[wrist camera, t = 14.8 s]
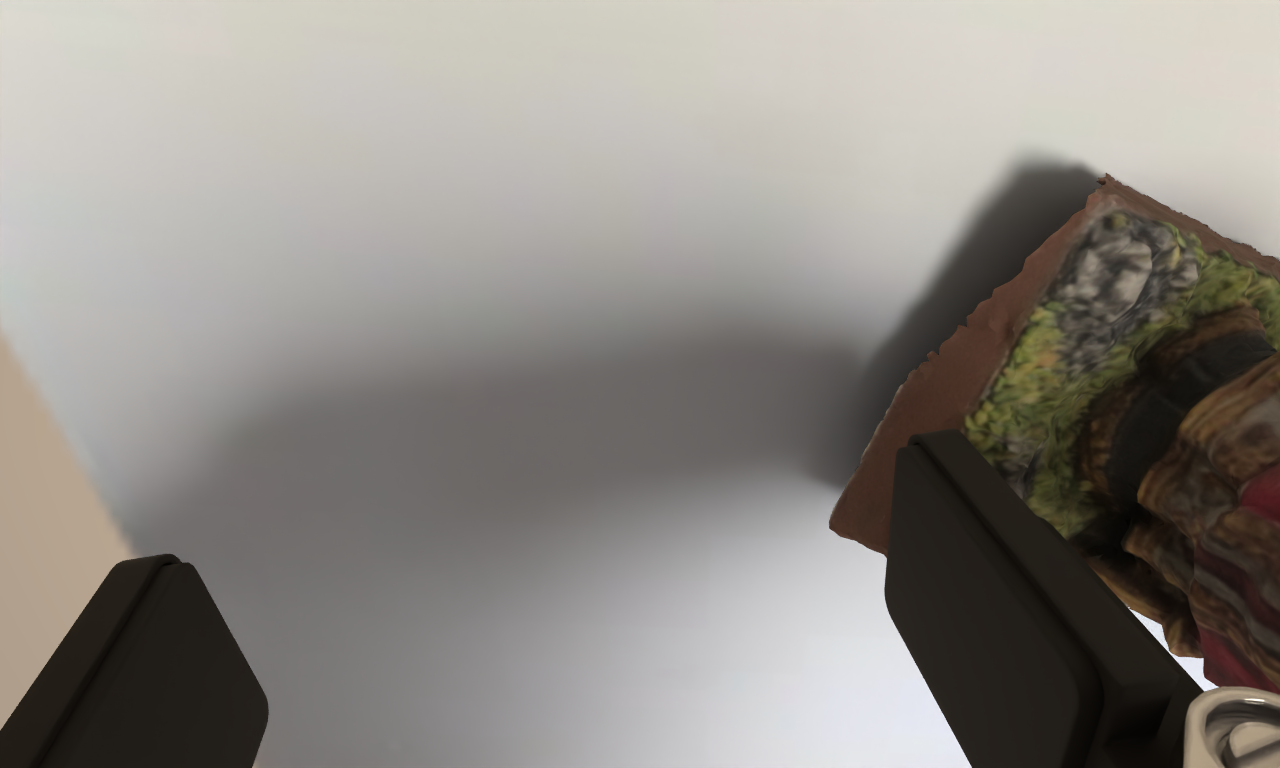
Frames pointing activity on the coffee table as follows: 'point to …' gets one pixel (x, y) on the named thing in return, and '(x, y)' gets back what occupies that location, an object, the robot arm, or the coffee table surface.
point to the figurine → (1124, 421)
